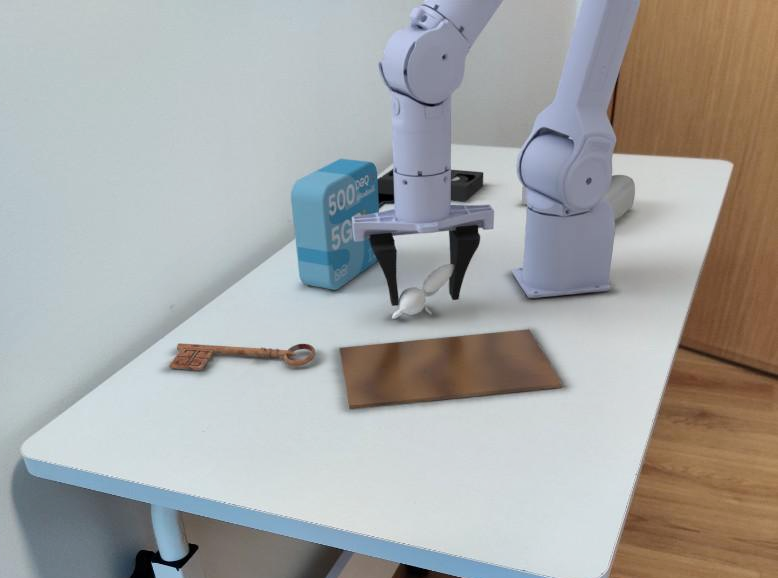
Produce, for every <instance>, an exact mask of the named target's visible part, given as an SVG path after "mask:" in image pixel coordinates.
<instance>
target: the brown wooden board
mask: <svg viewBox="0 0 778 578" xmlns="http://www.w3.org/2000/svg"><path fill="white" fill-rule="evenodd" d="M338 351H339V357H340V363H341V367H342V368H341V369H342V374H343V379H344V385H345V391H346V397H347V402H348V408H349V410H354V409H364V408H372V407H383V406H394V405H404V404H413V403H421V402H422V403H423V402H431V401H441V400H452V399H463V398H471V397H482V396H490V395H492V396H493V395H500V394H510V393H519V392H521V393H522V392H530V391H540V390H551V389H559V388H560V389H561V388H562V386H563V383H562V382H561V380H560V378H559V376H558V375H557V373H556V371H555V370H554V368H553V367H552V364H551V363H550V362H549V360H548V358H547V356H546V355H545V353H544V352H543V350H542V348H541V347H540V345H539V343H538V342H537V340H536V338H535V337H534V335H533V333H532V331H531V330H530V328H528V329H527V328H526V329H517V330H508V331H497V332H487V333H477V334H467V335H456V336H445V337H436V338H426V339H417V340H407V341H394V342H385V343H375V344H365V345H364V344H363V345H355V346H345V347H339V348H338Z"/></svg>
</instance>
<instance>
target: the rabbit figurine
mask: <svg viewBox="0 0 778 578" xmlns="http://www.w3.org/2000/svg"><path fill="white" fill-rule="evenodd" d="M453 270H454V264H450V263H449V264H443V265H441V266H439V267H437V268H436V269H435V270H433V271H432V272H430V274H429V275H427V277H426V278H425V280H424V281H423V285H422V288H420V287H416V286H412V287H411V286H410V287H408V288H406V289H404V290H403V291H401V293H400V295H399V305H398V309H397V310H396V311H394V312H393V313H392V316H391V319H392V320H393V319H395V320H396V319H398V318H399V317H400V316H401V315H402V314H405V315H410V316H412V315H416V314H419V313H421V312H422V311H423V309H424V307H425V311H426V312H427V313H428V314H429V315H430V316H432V313H433V312H432V311H431V310H430V309H429V308H428V307H427V306H425V305H426V301H427V297H431V296H434V295H435V294H437V293H438V291H439V290H440V289H441V288H442V287H444V285H445V284H446V283H447V282H449V278H450V277H451V275H452V273H453Z"/></svg>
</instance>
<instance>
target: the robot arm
mask: <svg viewBox="0 0 778 578" xmlns="http://www.w3.org/2000/svg"><path fill="white" fill-rule="evenodd" d="M503 2H504V0H423V2H422V3H421V5H420V6H419V7H417V6H415V7H414V8H413V9H412V11H411V12H410V14H409V16H408V18H409V20H410V25H406V26H403V28H401V29H400V28H399V29H397V30H396V31H395V32H394V33H392V35H391V36H390V37H389V39H388V40H387V42H386V44H385V47H384V49H383V58H382V60H380V61H379V62H378V63H377V64H378V65H377V67H378V72H379V76H380V78H381V81H382V82H383V84H384V85H385V87H386V88H387V90H388V91H389V93H390V106H391V107H390V108H391V109H390V110H391V111H390V112H391V139H392V140H391V143H392V145H391V147H392V169H393V175H394V195H393V200H394V201H393V202H394V208H393V209H387V210H384V211H379V212H378V213H373V214H369V215H363V216H355V217H352V231H353V238H354V241H355V242H356V241H364V240H365V238H369V241H370V244H371V247H372V250H373V252H374V254H375V256H376V258H377V262H378V263H379V267H380V268H381V270H382V272H383V275H384V277H385V280H386V284H387V289H388V294H389V301H390V304H391V306H392V307H396V306H398V307H399V298H400V296H399V290H398V280H397V257H398V250H397V248H396V244H395V240H396V239H394V237H397V236H406V235H407V236H408V235H418V234H434V233H439V232H440V233H441V232H448V239H449V258H450V259H449V264H454V270H453V273H452V275H451V277H450V278H449V280H448V293H449V295H450V298H451V300H452V301H458V300H459V299H460V293H461V289H462V286H463V281H464V278H465V275H466V272H467V271H468V267H469V265H470V263H471V261H472V259H473V257H474V255H475V253H476V252H477V250H478V248H479V246H480V244H481V243H480V242H481V234H480V233H479V229H482V230H484V231H489V230H494V228H495V227H494V224H495V223H494V222H495V210H494V208H493V206H492V205H491V204H451V201H452V200H451V170H452V94H453V93H454V92H455V91H456V90H457V89H458V88H460V87H461V85H462V81H463V80H464V79H463V78H464V75H465V68H466V59H467V56H468V54H469V53H470V49H471V48H472V47H473V45H474V43H475V42H476V40H477V39H478V38H479V36H480V35H481V33H482V32H483V30H484V29H485V27H486V26H487V25H488V23H489V22H490V20H491V19H492V17H493V16H494V14H495V13H496V12H497V10H498V8H499V7H500V5H502V3H503ZM641 3H642V0H581V2H580V7H579V10H578V14H577V16H576V17H577V18H576V21H575V25H574V28H573V32H572V36H571V39H570V43H569V46H568V49H567V54H566V57H565V61H564V64H563V67H562V71H561V75H560V79H559V83H558V86H557V89H556V93H555V97H554V100H553V101H552V102H551V103H550V104H549V105H548V106H547V107H546V108H544V109H543V110H541V112H540V113H539V114H537V115H536V117H535V120H534V124H533V127H532V130H531V132H530V134H529V136H528V138H527V139H526V140H525V142H524V143H523V144H522V146H521V148H520V149H519V153H518V155H517V159H516V164H515V165H516V176H517V178H518V180H519V182H520V184H521V185H522V186H524V187H525V188H526V199H527V205H526V217H525V231H524V232H525V233H524V248H523V265H522V267H516V268H513V269H512V275H513V276H514V279H516V281H517V283H518V284H519V286H520V287H521V289H522V290H523V292H524V294H525V296H526V297H527V298H528V299H537V298H546V297H547V298H548V297H557V296H567V295H577V294H579V295H580V294H589V293H600V292H608V291H610V290H611V285H610V284H609V283H610V282H609V281H610V274H611V266H612V258H613V251H614V243H615V236H616V235H615V234H616V220H615V218H614V212H613V209H612V206H611V204H610V203H609V202H608V201H601V200H602V198H603V197H604V196H605V194H606V192H607V190H608V188H609V186H610V183H611V179H612V176H613V154H614V150H615V148H616V144H617V136H616V133H615V131H614V129H613V126H612V124H611V121H610V119H609V117H608V108H609V107H610V106H609V105H610V104H611V103H610V102H611V100H612V96H613V93H614V91H615V90H614V89H615V87H616V83H617V79H618V76H619V73H620V70H621V66H622V64H623V60H624V57H625V55H626V50H627V48H628V44H629V41H630V38H631V35H632V31H633V29H634V25H635V22H636V18H637V16H638V12H639V9H640V5H641Z"/></svg>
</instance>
